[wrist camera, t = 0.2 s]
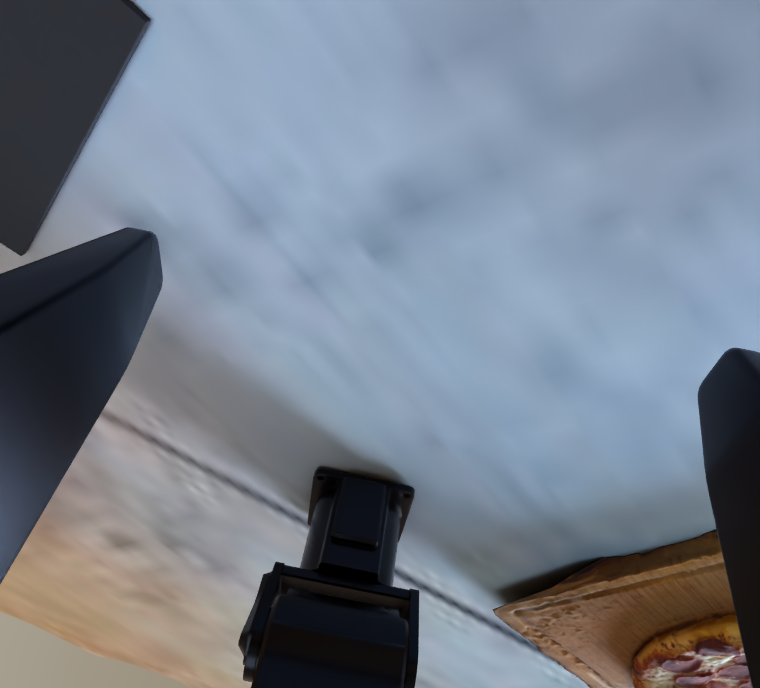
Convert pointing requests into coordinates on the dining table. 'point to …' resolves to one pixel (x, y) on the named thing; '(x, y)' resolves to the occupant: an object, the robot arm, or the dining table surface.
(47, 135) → the placemat
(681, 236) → the dining table surface
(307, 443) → the dining table surface
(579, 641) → the pizza
